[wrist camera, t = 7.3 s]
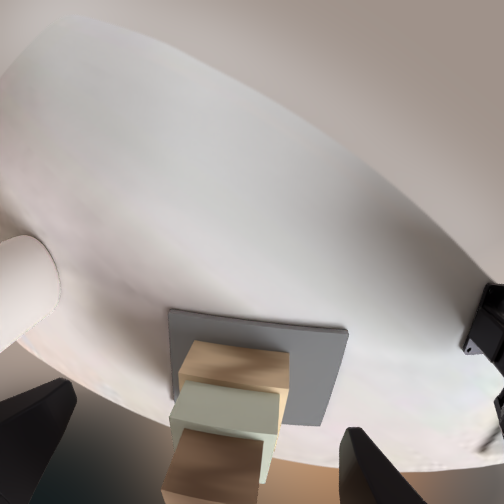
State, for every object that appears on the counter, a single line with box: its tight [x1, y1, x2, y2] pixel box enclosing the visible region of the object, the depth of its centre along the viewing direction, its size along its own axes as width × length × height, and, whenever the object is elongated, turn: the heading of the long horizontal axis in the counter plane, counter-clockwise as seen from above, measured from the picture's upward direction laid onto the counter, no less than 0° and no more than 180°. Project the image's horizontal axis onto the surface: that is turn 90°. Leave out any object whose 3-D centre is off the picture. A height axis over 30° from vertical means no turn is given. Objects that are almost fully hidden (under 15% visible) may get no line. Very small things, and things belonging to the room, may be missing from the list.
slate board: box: [168, 309, 349, 426], centre depth 22 cm, size 13×10×1 cm
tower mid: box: [169, 380, 280, 484], centre depth 17 cm, size 6×6×4 cm
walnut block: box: [161, 428, 264, 504], centre depth 13 cm, size 4×4×4 cm
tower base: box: [178, 340, 289, 451], centre depth 20 cm, size 7×7×4 cm
